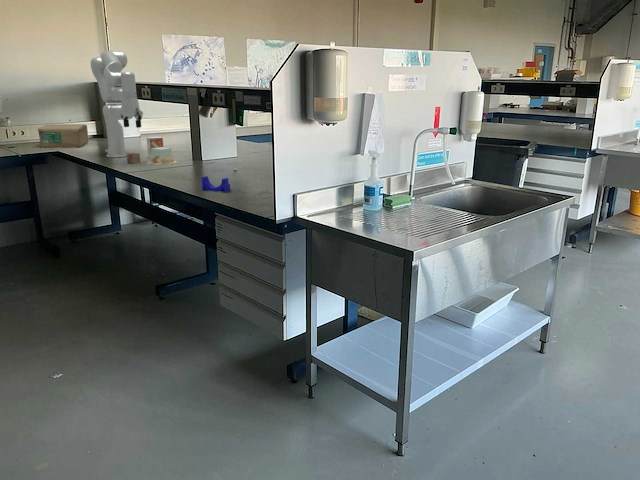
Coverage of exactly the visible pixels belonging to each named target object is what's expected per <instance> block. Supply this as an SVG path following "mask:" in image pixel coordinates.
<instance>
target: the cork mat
mask: <svg viewBox="0 0 640 480" xmlns="http://www.w3.org/2000/svg"><path fill="white" fill-rule="evenodd" d="M173 161H174V162H170V163H165V164H159V163H151V161H146V162H145V164H152V165H160V166H164V165H169V164H175V163H179V162H180V161H177V160H173Z"/></svg>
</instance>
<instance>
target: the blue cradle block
mask: <svg viewBox="0 0 640 480" xmlns="http://www.w3.org/2000/svg"><path fill="white" fill-rule="evenodd" d="M201 189H202V191H208V190H210V192H211V191H212V192H218V191H221V192H220V193H227V192H230V191H231V183H229V178H228V177H224V178H222V179H221V182H220V184H219V185H218V186H215V185H213V184H212V183H211V181H210V180H209V176H208V175H205V176H201ZM229 190H230V191H229ZM222 191H223V192H222ZM226 191H227V192H226Z"/></svg>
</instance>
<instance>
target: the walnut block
mask: <svg viewBox="0 0 640 480" xmlns="http://www.w3.org/2000/svg"><path fill="white" fill-rule="evenodd" d="M126 162H127V164H129V165H137V164H141V155H140V153H136V152H131V153H127V156H126Z"/></svg>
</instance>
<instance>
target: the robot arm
mask: <svg viewBox="0 0 640 480" xmlns="http://www.w3.org/2000/svg"><path fill="white" fill-rule="evenodd" d="M127 64H128V57H127V55H126V53H125V52H124V51H123V50H122V51H121V50H105V51H102V52H101V53H100V56H95V57H92V59H91V60H90V69H91V72H92V74H93V77H94V78H95V80H96V82H97V85H98V87H99V91H100V96H101V99H102V102H104V103H105V105H103V107H102V114H103V117H104V121H105V128H106V130H105V131H106V139H107V147H108V148H106V149H105V153H107V154H106V157H108V158H125V157H126V158H127V154H128V153H127V152H126V148H125V147H126V145H125V137H124V134H125V133H124V128H129V127H130V121H129V120H131V119H133V118H135V128H137V129H138V128H139V129H140V128H142V119H143V115H144V111H142V110H141V108H140V104H139V99H138V98H137V97H138V95H137V94H138V93H137V85H136V76H135V73H134V72H129V71H128V72H126V71H125V72H123V69H124V68H125V67H126V66H127ZM119 120H120V121H121V120H123V125H122V124H121V123H120V122H119Z"/></svg>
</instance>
